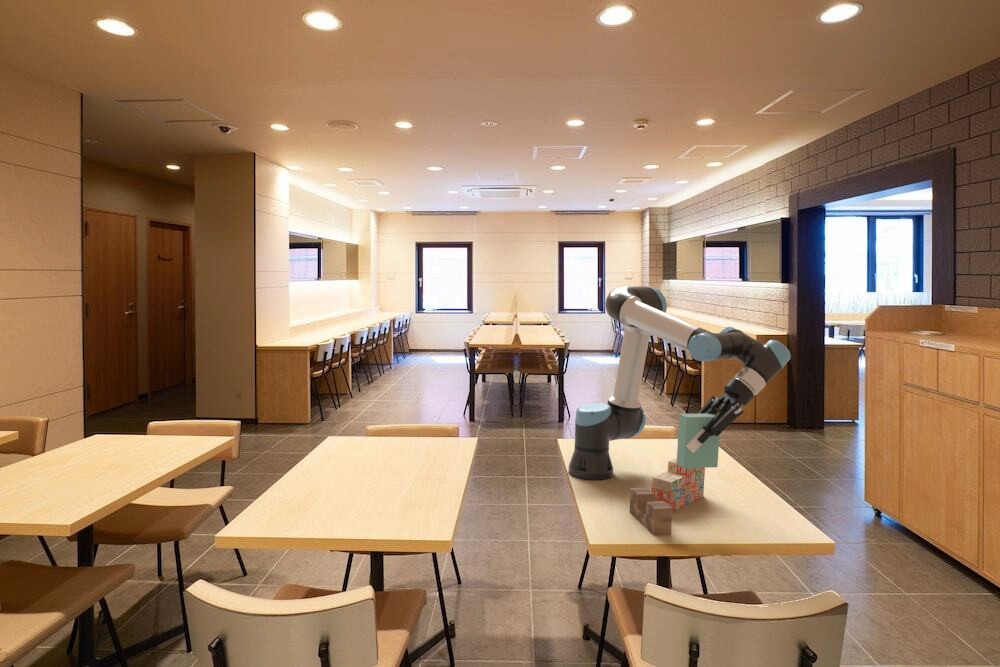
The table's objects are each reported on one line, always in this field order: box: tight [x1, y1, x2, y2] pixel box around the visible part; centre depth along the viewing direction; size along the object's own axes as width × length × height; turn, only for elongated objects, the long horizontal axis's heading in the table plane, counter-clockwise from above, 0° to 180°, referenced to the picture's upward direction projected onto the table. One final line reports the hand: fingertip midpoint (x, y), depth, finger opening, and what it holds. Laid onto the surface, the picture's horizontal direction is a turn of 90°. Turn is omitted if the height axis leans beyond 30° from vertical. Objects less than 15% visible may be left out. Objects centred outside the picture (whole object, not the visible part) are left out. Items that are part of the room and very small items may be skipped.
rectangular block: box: [676, 413, 721, 469], centre depth 168 cm, size 4×10×14 cm, turn 101°
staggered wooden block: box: [629, 487, 673, 536], centre depth 167 cm, size 16×5×7 cm, turn 10°
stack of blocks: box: [650, 457, 706, 512], centre depth 184 cm, size 21×6×12 cm, turn 136°
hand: (685, 447), depth 167 cm, fingers closed on rectangular block, 4 cm apart
